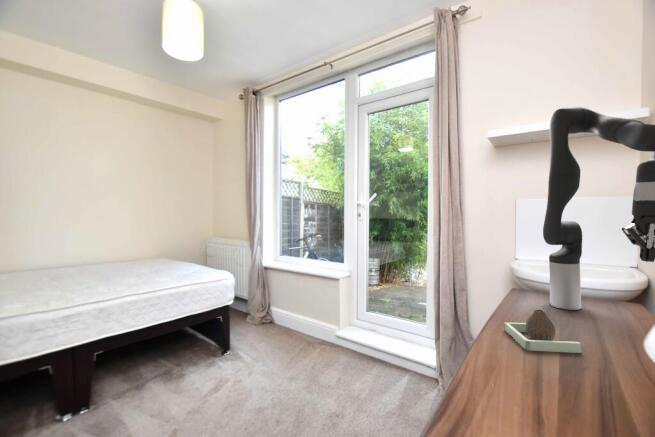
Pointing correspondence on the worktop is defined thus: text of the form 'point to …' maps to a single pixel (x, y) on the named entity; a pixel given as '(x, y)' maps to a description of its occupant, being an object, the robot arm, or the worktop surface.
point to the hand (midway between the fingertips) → (647, 261)
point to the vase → (540, 326)
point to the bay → (539, 341)
